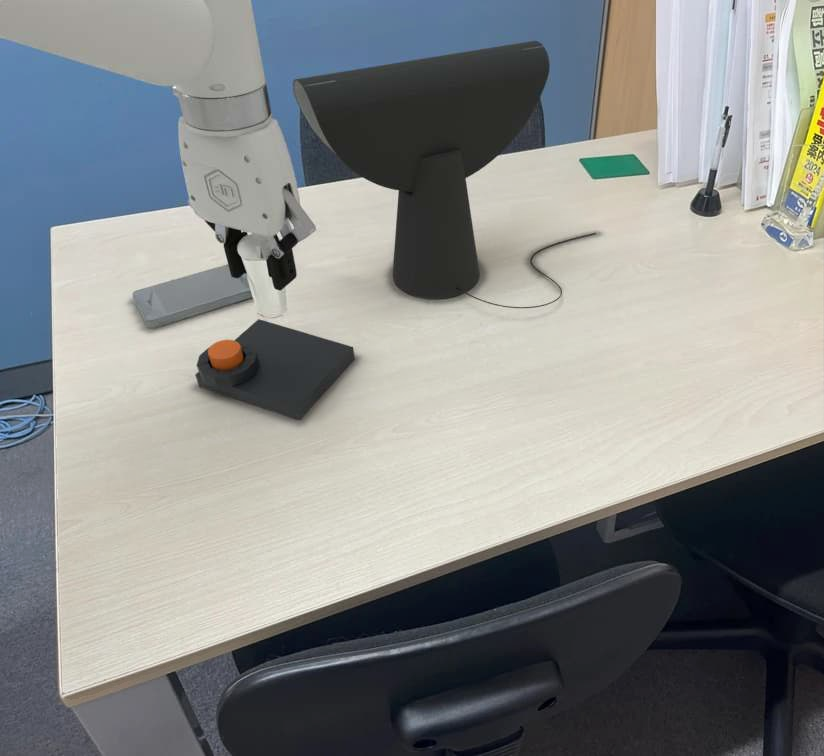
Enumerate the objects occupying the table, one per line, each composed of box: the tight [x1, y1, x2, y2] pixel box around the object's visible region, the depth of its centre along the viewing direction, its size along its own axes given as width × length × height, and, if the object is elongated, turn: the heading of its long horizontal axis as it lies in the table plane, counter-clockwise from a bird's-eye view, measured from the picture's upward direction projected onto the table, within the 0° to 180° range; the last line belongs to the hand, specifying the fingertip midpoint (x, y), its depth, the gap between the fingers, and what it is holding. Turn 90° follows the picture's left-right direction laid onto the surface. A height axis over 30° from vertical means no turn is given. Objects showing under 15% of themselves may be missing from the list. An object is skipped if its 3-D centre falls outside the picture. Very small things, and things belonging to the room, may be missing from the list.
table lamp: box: [292, 40, 596, 309], centre depth 95 cm, size 40×28×30 cm
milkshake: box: [237, 233, 288, 319], centre depth 75 cm, size 4×5×10 cm
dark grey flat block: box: [194, 318, 356, 421], centre depth 85 cm, size 14×13×4 cm
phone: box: [132, 263, 253, 329], centre depth 97 cm, size 8×16×1 cm, turn 125°
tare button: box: [207, 339, 244, 370], centre depth 82 cm, size 4×4×2 cm
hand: (264, 276), depth 75 cm, fingers closed on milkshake, 4 cm apart
